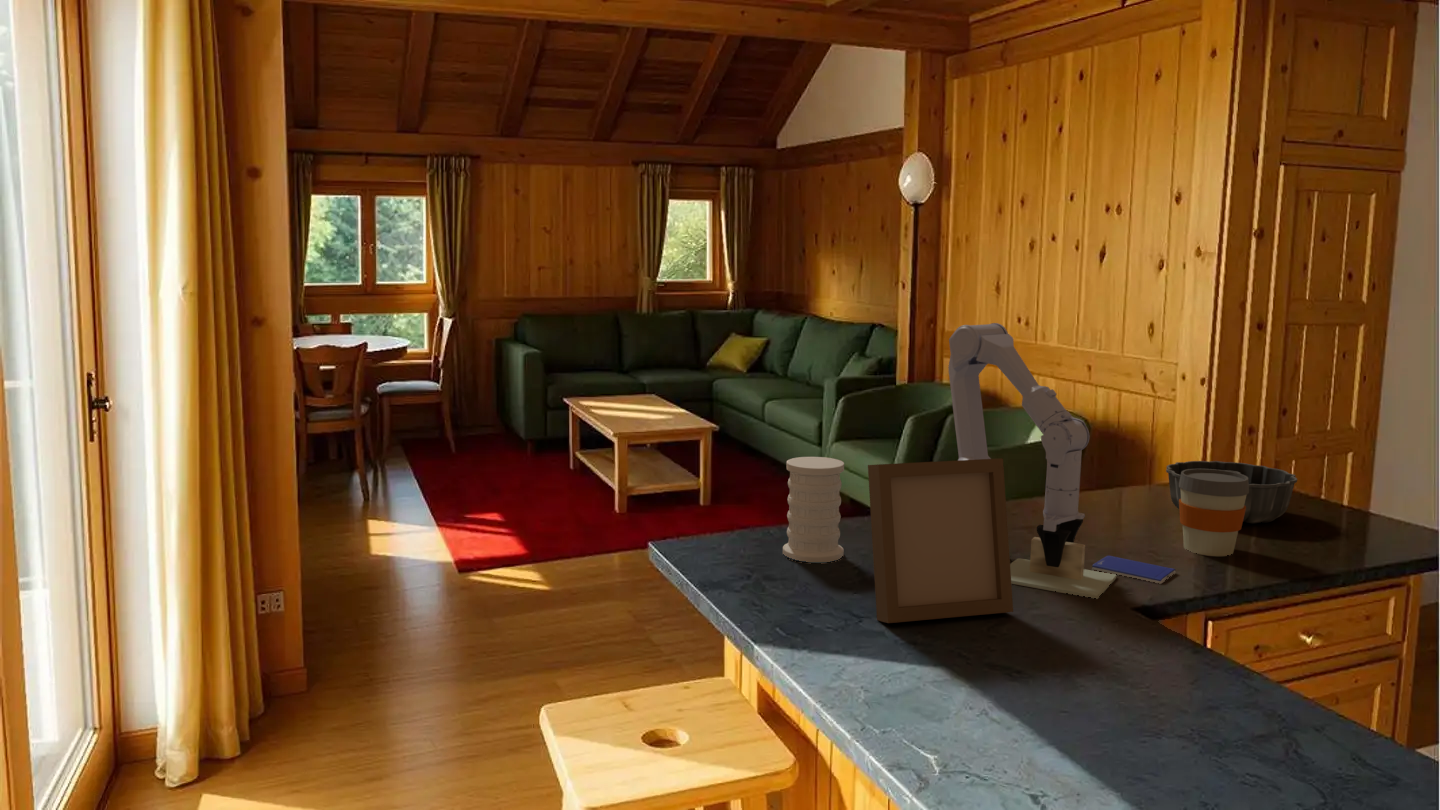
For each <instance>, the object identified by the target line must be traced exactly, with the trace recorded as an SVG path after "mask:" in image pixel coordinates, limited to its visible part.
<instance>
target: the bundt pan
mask: <svg viewBox="0 0 1440 810" xmlns="http://www.w3.org/2000/svg"><path fill="white" fill-rule="evenodd" d="M1187 469H1216V470H1224V471H1230V472H1235V473H1239V474H1242V475H1245V476H1247V477H1248V481H1249V493H1248V494H1247V495H1246V500H1245V504H1244V505H1245V506H1246V510H1245V514H1244V519H1243V522H1244V523H1247V524H1259V523H1261V522H1262V523H1263V524H1264V523H1270V522H1273V521H1275V520H1276V519H1278V518H1280V517H1282V516H1283V515H1284V514H1285V513H1286V512H1287V510H1288V508H1289V506H1290V502H1291V498H1292V494H1293V490H1294V487H1295V484H1297V482H1298V478H1297V477H1296V474H1293V473H1289V472H1288V471H1286V470H1284V469H1281V468H1280V469H1278V468H1273V467H1268V466H1265V465H1256V464H1250V463H1244V462H1235V461H1218V460H1213V461H1207V460H1191V461H1185V462H1183V461H1182V462H1181V461H1180V462H1179V461H1176V462H1175V463H1172V464H1168V465H1166V469H1165V472H1166V473H1168V474H1167V475H1168V484H1169V493H1170V499H1171V502H1172V504H1173V505H1174V506H1175V507H1176V508H1177V509H1178V510H1179V499H1181V489H1180V487H1179V481H1180V476H1181V472H1182V471H1183V470H1187Z"/></svg>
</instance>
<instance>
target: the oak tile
mask: <svg viewBox="0 0 1440 810" xmlns="http://www.w3.org/2000/svg"><path fill="white" fill-rule="evenodd" d="M1085 553H1086V544H1083V543H1077V542H1074V543H1071V542H1065V545H1064V549H1063V554H1062V559H1061V563H1060V565H1059V567H1052V566H1047V565H1046V561H1045V555H1044V549H1043V545H1042V542H1041V539H1040V537H1038V536H1034V537H1032V538H1031V540H1030V558H1029V560H1030V572H1036V573H1041V574H1047V575H1053V576H1059V577H1065V578H1070V579H1076V580H1081V579H1082V578H1083V572H1084V569H1085V568H1084V567H1085V555H1086V554H1085Z"/></svg>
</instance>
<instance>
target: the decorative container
mask: <svg viewBox="0 0 1440 810" xmlns="http://www.w3.org/2000/svg"><path fill="white" fill-rule="evenodd" d="M785 467H786V470H787V471H788V472H789V478H788V481H787V486H788V489H789V494H788V496H787V504H788V506H789V507H788V509H789V510H788V511H787V514H786V517H787V521H788V527H787V528H786V535H787V538H788V542H787V543H785V544H784V545H783V546H782V555H783V554H784V555H785V556H787V557H789V558H792V559H795V560H799V561H806V562H830V561H834V560H838V559H840V558H841V557H842V556H843V557H844V547H842V545H840V544H839V539H840V536H841V529H840V528H839V523H840V521H841V517H842V516H841V513H840V506H841V504H842V497H841V495H840V490H841V488H842V485H843V484H842V480H841V475H840V474H841V473H843V472H844V471H845V462H844V461H842V460H840V459H837V458H833V457H832V458H831V457H825V456H800V457H793V458H789V459H788V460H786V466H785ZM840 560H841V559H840ZM838 561H839V560H838Z"/></svg>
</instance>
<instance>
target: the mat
mask: <svg viewBox="0 0 1440 810" xmlns="http://www.w3.org/2000/svg"><path fill="white" fill-rule="evenodd" d="M1010 571H1011V585H1018V586H1024V587H1028V588H1034V589H1039V590H1045V591H1050V592H1055V591H1056V593H1061V594H1066V593H1068V595H1072V594H1073V596H1077V595H1079V597H1083V596H1085V598H1088V597H1091V598H1090V599H1094V598H1096V599H1095V600H1098V599H1099V598H1100V597H1101V596H1102V595H1103V594H1104V593H1105V592H1106V590H1107V589H1108V588H1109V587H1110V586H1111V585H1112V583H1114V582H1115V580H1116V579H1117V578H1116V577H1117V576H1118V575H1116V574H1110V573H1104V572H1099V571H1094V570H1092V569H1091V570H1090V569H1086V568H1084V572H1083V578H1082V579H1081V580H1076V579H1070V578H1065V577H1059V576H1053V575H1047V574H1041V573H1036V572H1030V559H1025V558H1019V557H1018V558H1016V559H1015V560H1014V561H1012V562H1010ZM1110 584H1111V585H1110ZM1109 585H1110V586H1109ZM1102 593H1103V594H1102ZM1101 594H1102V595H1101ZM1100 595H1101V596H1100ZM1099 596H1100V597H1099Z"/></svg>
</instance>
